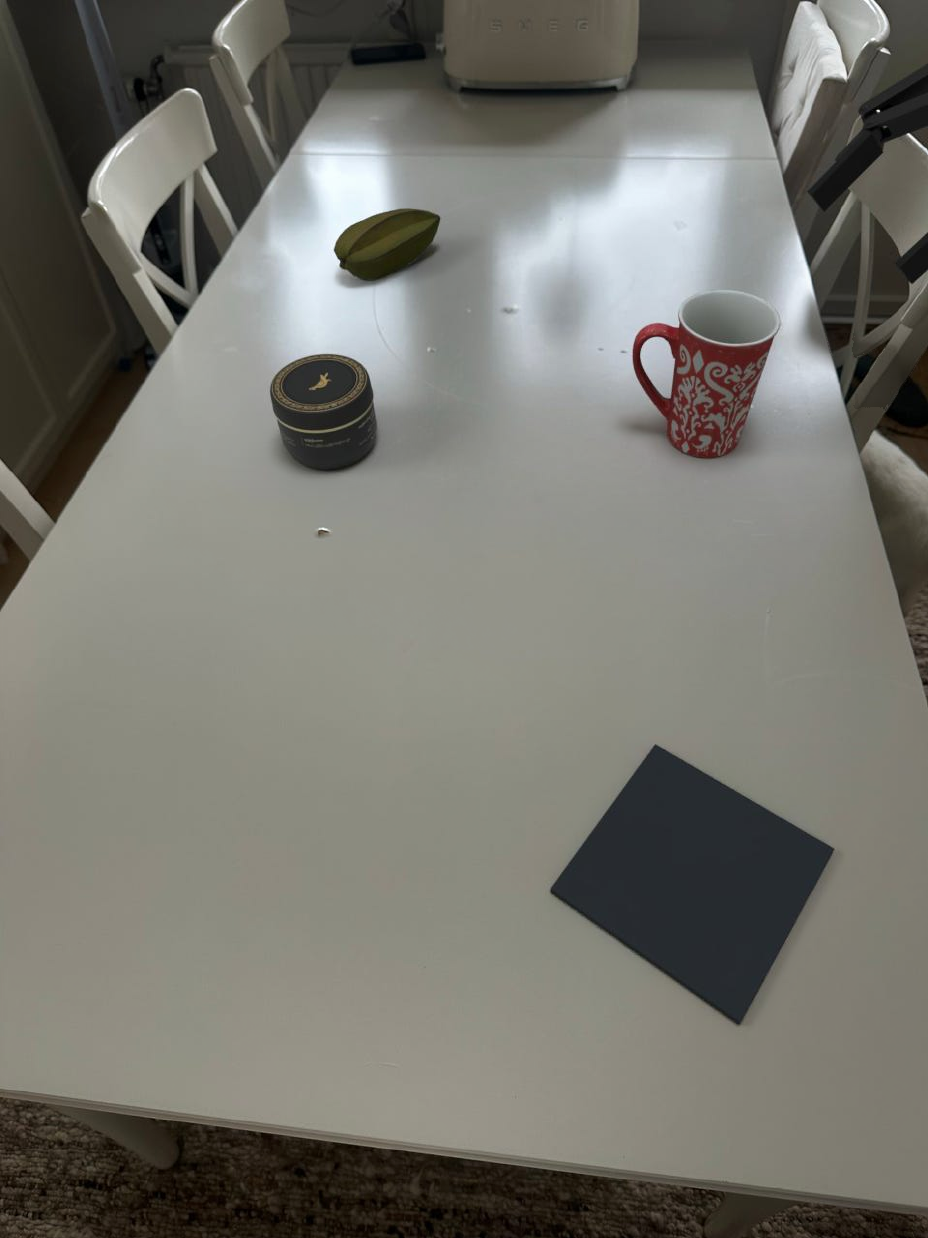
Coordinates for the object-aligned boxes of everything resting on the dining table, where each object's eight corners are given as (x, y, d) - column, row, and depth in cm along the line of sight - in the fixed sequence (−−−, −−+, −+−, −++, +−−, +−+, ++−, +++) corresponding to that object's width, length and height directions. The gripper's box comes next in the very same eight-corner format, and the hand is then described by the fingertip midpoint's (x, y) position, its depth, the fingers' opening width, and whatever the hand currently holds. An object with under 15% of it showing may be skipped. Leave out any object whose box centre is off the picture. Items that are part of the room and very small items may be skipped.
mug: (751, 412, 90) (782, 292, 79) (747, 469, 84) (779, 349, 74) (629, 398, 92) (643, 280, 82) (617, 453, 87) (631, 334, 76)
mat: (832, 852, 60) (834, 848, 59) (738, 1025, 53) (740, 1023, 52) (654, 747, 65) (655, 743, 65) (549, 892, 59) (550, 888, 58)
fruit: (355, 242, 116) (348, 193, 111) (443, 246, 114) (440, 195, 109) (334, 288, 109) (325, 237, 104) (428, 292, 107) (423, 241, 102)
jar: (384, 411, 93) (374, 349, 87) (376, 474, 86) (365, 412, 80) (292, 414, 93) (276, 352, 87) (277, 476, 87) (259, 414, 81)
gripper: (1229, 101, 62) (961, 331, 71) (996, -3, 77) (801, 198, 86) (1214, 27, 57) (929, 284, 66) (969, -69, 72) (765, 152, 81)
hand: (856, 236), depth 76 cm, fingers open, 13 cm apart
